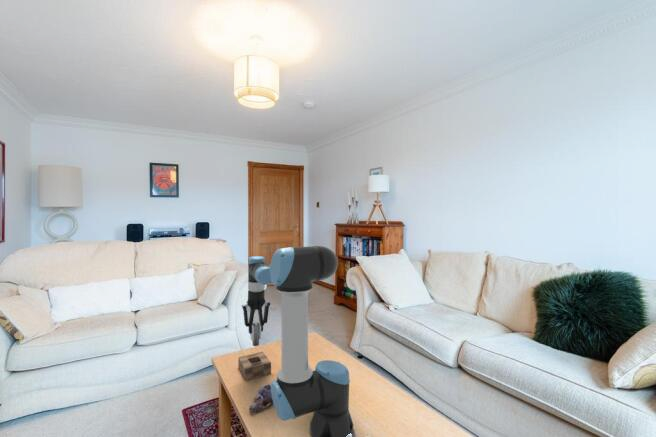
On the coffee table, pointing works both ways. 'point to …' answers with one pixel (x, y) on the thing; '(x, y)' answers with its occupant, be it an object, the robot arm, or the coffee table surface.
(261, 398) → the purple lumpy piece
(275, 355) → the coffee table surface
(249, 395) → the coffee table surface
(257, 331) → the pin
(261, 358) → the socket block
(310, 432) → the robot arm
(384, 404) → the coffee table surface
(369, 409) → the coffee table surface
